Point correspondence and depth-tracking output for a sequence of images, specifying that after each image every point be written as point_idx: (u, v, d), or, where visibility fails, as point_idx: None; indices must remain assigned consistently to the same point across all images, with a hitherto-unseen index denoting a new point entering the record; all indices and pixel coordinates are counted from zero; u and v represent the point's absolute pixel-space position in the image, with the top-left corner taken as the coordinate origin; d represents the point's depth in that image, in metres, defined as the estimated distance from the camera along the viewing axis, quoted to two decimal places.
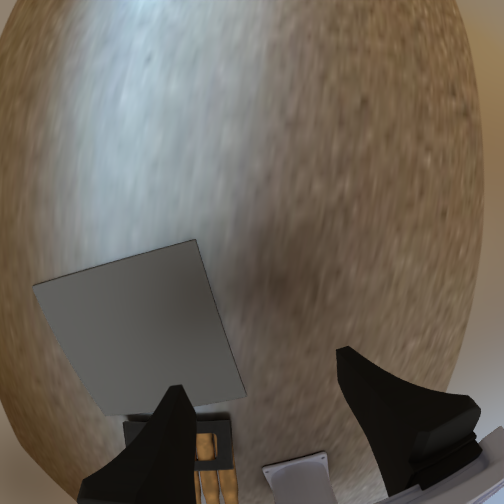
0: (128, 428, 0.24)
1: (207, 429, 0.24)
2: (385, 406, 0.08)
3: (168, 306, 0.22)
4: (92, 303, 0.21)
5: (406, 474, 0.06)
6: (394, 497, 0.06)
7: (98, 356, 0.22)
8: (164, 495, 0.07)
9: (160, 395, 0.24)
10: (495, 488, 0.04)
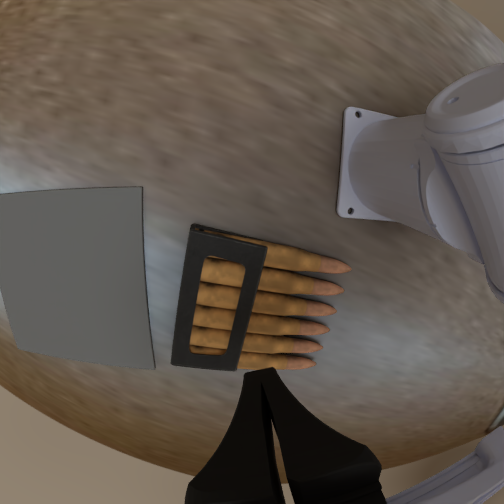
0: (180, 360, 0.21)
1: (196, 264, 0.19)
2: None
3: (23, 235, 0.19)
4: (22, 301, 0.20)
5: None
6: (394, 497, 0.06)
7: (69, 327, 0.21)
8: (276, 484, 0.07)
9: (119, 290, 0.21)
10: (495, 488, 0.04)
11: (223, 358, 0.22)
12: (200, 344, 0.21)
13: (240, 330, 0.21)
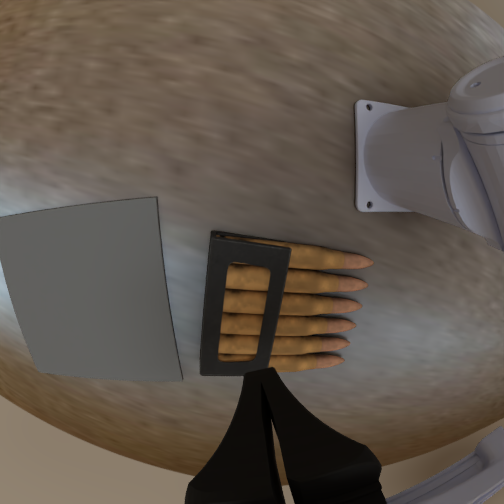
0: (209, 370, 0.21)
1: (220, 272, 0.19)
2: None
3: (35, 256, 0.19)
4: (39, 324, 0.20)
5: None
6: (394, 497, 0.06)
7: (91, 346, 0.21)
8: (275, 484, 0.07)
9: (141, 304, 0.21)
10: (495, 488, 0.04)
11: (253, 363, 0.21)
12: (229, 352, 0.21)
13: (269, 334, 0.21)
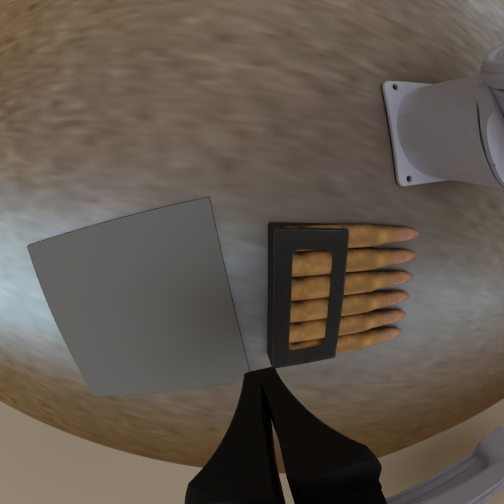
0: (281, 361, 0.21)
1: (286, 262, 0.19)
2: None
3: (81, 277, 0.20)
4: (92, 346, 0.21)
5: None
6: (394, 497, 0.06)
7: (153, 360, 0.22)
8: (275, 483, 0.07)
9: (204, 307, 0.21)
10: (495, 488, 0.04)
11: (322, 347, 0.22)
12: (298, 340, 0.21)
13: (335, 316, 0.21)
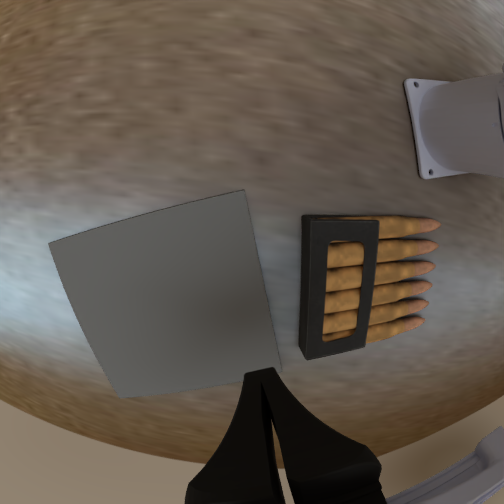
0: (314, 353, 0.21)
1: (322, 253, 0.19)
2: None
3: (108, 274, 0.20)
4: (119, 347, 0.22)
5: None
6: (394, 497, 0.06)
7: (183, 358, 0.22)
8: (275, 484, 0.07)
9: (237, 302, 0.21)
10: (495, 488, 0.04)
11: (354, 337, 0.22)
12: (331, 330, 0.21)
13: (366, 306, 0.21)
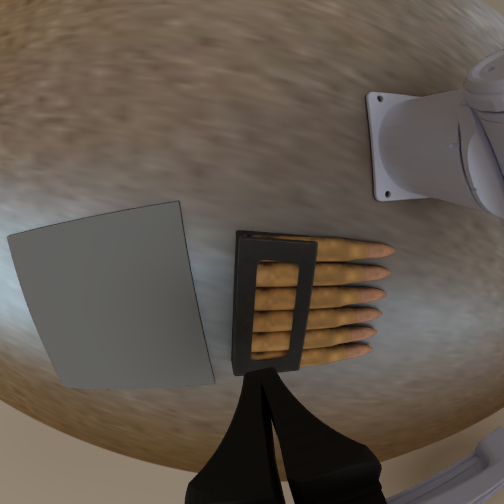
0: (243, 369, 0.21)
1: (250, 271, 0.19)
2: None
3: (55, 271, 0.19)
4: (63, 339, 0.21)
5: None
6: (394, 497, 0.06)
7: (119, 357, 0.22)
8: (275, 483, 0.07)
9: (169, 310, 0.21)
10: (495, 488, 0.04)
11: (286, 359, 0.21)
12: (261, 350, 0.21)
13: (300, 329, 0.21)
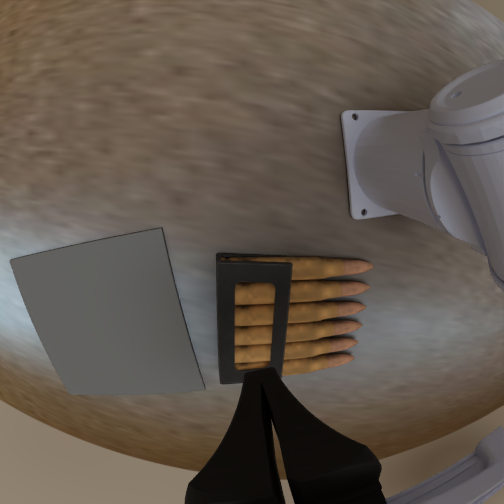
0: (228, 379, 0.23)
1: (229, 292, 0.20)
2: None
3: (55, 291, 0.21)
4: (66, 351, 0.23)
5: None
6: (394, 497, 0.06)
7: (117, 367, 0.24)
8: (275, 484, 0.07)
9: (159, 325, 0.23)
10: (495, 488, 0.04)
11: None
12: (244, 361, 0.23)
13: (279, 342, 0.22)
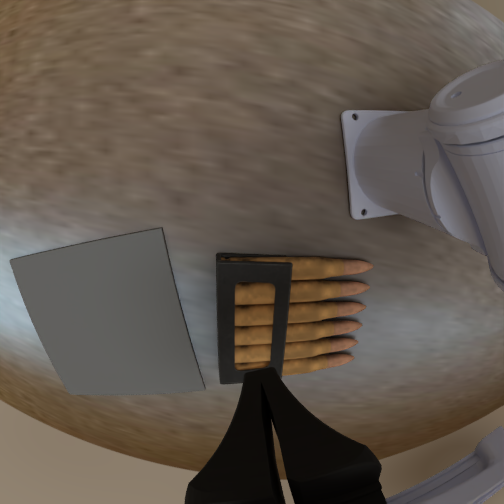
0: (228, 379, 0.23)
1: (229, 292, 0.20)
2: None
3: (55, 291, 0.21)
4: (66, 351, 0.23)
5: None
6: (394, 497, 0.06)
7: (117, 367, 0.24)
8: (275, 484, 0.07)
9: (159, 325, 0.23)
10: (495, 488, 0.04)
11: None
12: (244, 361, 0.23)
13: (279, 342, 0.22)
